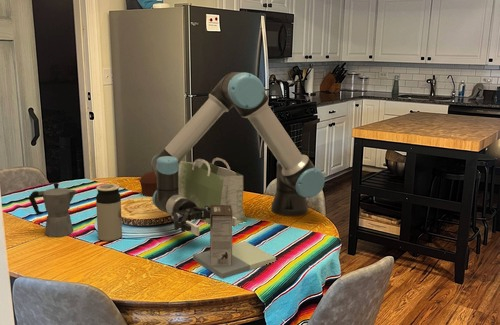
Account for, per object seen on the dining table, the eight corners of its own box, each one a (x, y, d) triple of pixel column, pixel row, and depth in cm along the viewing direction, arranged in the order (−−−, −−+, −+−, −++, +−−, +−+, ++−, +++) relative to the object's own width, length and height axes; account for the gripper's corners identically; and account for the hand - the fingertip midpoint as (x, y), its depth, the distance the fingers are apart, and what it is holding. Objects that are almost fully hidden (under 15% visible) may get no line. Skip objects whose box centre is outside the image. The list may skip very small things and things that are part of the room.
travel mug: (93, 240, 162) (91, 189, 158) (104, 232, 170) (102, 183, 166) (116, 242, 161) (113, 190, 157) (125, 234, 168) (124, 184, 165)
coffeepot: (79, 226, 175) (76, 178, 171) (79, 235, 166) (76, 185, 162) (32, 230, 169) (29, 181, 166) (30, 240, 161) (26, 188, 157)
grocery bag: (249, 222, 184) (251, 163, 179) (220, 230, 175) (221, 168, 170) (201, 202, 207) (201, 149, 202) (173, 208, 198) (173, 153, 193)
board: (244, 245, 161) (244, 241, 160) (275, 261, 148) (275, 257, 148) (193, 259, 149) (193, 254, 148) (222, 278, 136) (222, 273, 136)
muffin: (145, 189, 224) (144, 169, 222) (168, 191, 222) (167, 170, 220) (135, 197, 212) (135, 175, 210) (160, 198, 211) (159, 176, 209)
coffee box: (209, 254, 149) (210, 204, 146) (230, 253, 150) (231, 204, 146) (210, 266, 140) (210, 214, 137) (232, 266, 141) (233, 213, 138)
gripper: (213, 212, 169) (249, 230, 153) (148, 226, 154) (181, 247, 138) (213, 192, 167) (250, 207, 151) (147, 204, 152) (181, 223, 136)
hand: (217, 227), depth 144 cm, fingers open, 13 cm apart
